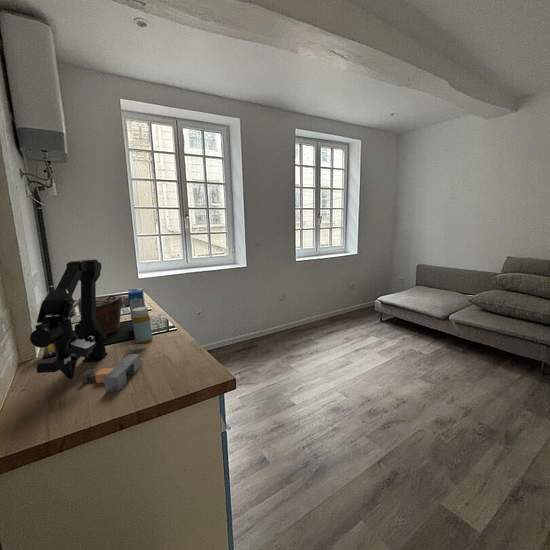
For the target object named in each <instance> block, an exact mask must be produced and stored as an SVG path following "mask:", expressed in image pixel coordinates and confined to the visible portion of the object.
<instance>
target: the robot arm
mask: <svg viewBox="0 0 550 550" xmlns="http://www.w3.org/2000/svg"><path fill="white" fill-rule="evenodd" d="M102 267H103V266H102V263H101V261H98V260H97V259H94V258H93V259H82V260H76V261H75V260H73V261H72V260H71V261H68V262H67V263H66V268H65V270H64V273H63V274H62V276H61V278H60V281H59V282H58V283H57V286H56V288H55V289H54V290H53V291H51V292H50V293H48V294H47V295H46V296H45V298H44V299H43V300H42V301H41V304H40V306H39V307H40V308H39V312H38V315H37V320H36V323H37V324H36V325H35V328H34V329H35V330H34V331H31V333H30V335H29V336H30V337H29V340H30V343H31V345H32V346H35V347H36V348H41V349H42V348H48V347H47V346H48V345H50V344H53V345H54V350H55V351H54V352H52V355H51V356H52V357H51V358H45V359H44V360H42V361H40V362H39V363H37V365H36V366H35V369H36V370H35V371H36V373H37V374H46V373H56V372H59V371H60V372H62V374H63V375H64V376H65V377H66V378H67V379H68V380H72V379H73V378H74V376H75V371H76V366H77V363H78V360H79V359H80V358H81V357H82V358H84V359H82V360H81V361H82V363H87V362H99V361H101V360H102V359H103V358H105V357H106V356H107V355H108V352H107V351H106V346H105V343H107V338H108V336H107V335H108V334H105V333H104V332H103V331H102V330H101V325H100V324H99V322H98V321H97V320H96V298H97V297H96V296H97V294H96V293H97V292H96V291H97V290H96V285H97V284H96V282H97V281H98V280H99V278H100V277H101V270H102ZM79 281H80V299H81V312H80V320H79V322H78V323H77V324H75V325H74V329H73V323H72V319H71V318H73V317H74V314H73V313H72V311H73V308H74V304H75V301H74V298H73V295H74V293H75V290H76V288H77V286H78V284H79Z"/></svg>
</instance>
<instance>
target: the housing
mask: <svg viewBox="0 0 550 550" xmlns="http://www.w3.org/2000/svg"><path fill="white" fill-rule="evenodd" d="M141 367H142V362H141V355H140V353H133V354H127V355H126V356H125V357H124V358H123V359H122V360H121V361H120V362H119V363H118V364H117V365H116V366H114V367H113V368H114V369H113V370H112V371H111V372H110V373H108V374H107V375H106V376H105V377H104V383H103V384H104V388H105V393H117V392H118V393H119V392H120V391H121V390H122V389H123V387H124V386H126V384H127V383H128V381H127V380H128V379H127V375H130V374H131V375H133V374H136V373H137V372H138V370H140V368H141Z"/></svg>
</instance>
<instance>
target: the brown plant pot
mask: <svg viewBox="0 0 550 550" xmlns="http://www.w3.org/2000/svg"><path fill="white" fill-rule="evenodd" d="M124 305H125V302H124V300H123V298H122V297H121V296H116V295H110V296H108V297H106V298H97V297H96V320H97V321H98V322H99V324H100V325H101V330H102V331H103V332H104V333H105V334H106V335H109V334H112V333H115V332H117V331H118V330H120V325H121V315H122V313H121V311H122V306H124ZM78 310H79V313H81V298H80V299H79V300H78Z"/></svg>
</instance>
